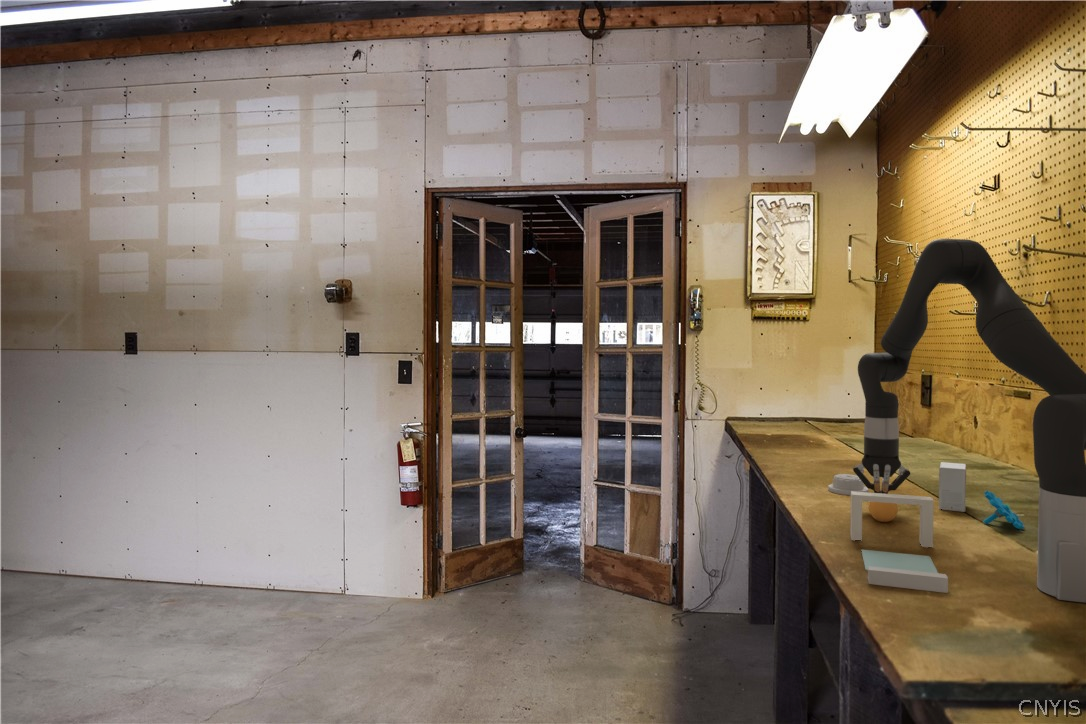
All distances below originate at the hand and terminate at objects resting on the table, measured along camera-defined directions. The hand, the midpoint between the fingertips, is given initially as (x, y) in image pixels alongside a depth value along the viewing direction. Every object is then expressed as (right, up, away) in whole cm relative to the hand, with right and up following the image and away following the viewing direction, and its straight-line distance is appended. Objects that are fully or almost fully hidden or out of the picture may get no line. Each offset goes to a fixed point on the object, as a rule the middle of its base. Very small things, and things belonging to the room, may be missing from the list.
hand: (880, 506), depth 163 cm
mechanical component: (+2, -1, +21) cm, 21 cm away
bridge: (-9, -2, -23) cm, 25 cm away
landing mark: (-15, -3, -36) cm, 39 cm away
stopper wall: (-19, -4, -47) cm, 51 cm away
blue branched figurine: (+21, -2, -12) cm, 25 cm away
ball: (-4, +1, -8) cm, 9 cm away
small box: (+19, -1, +3) cm, 20 cm away
